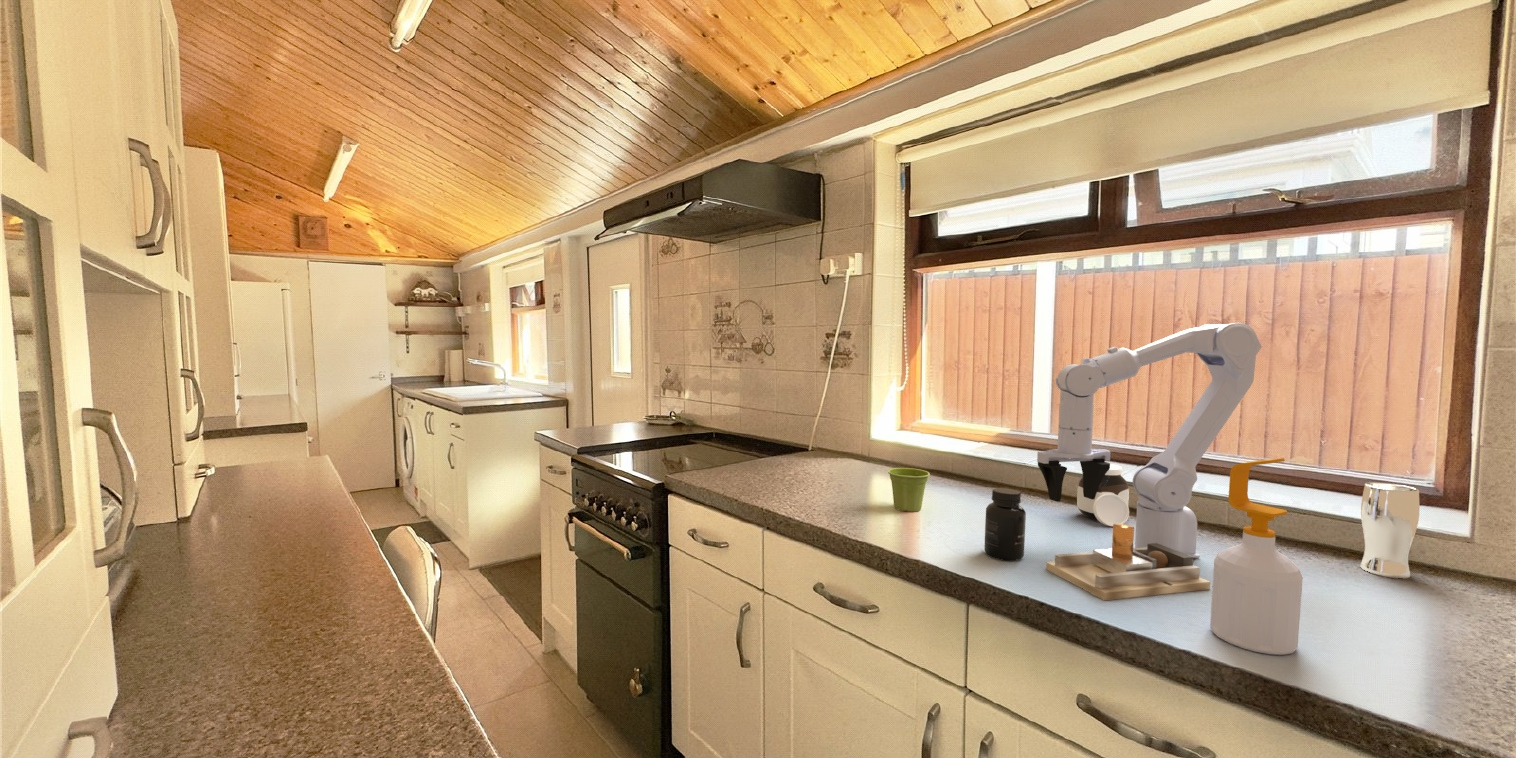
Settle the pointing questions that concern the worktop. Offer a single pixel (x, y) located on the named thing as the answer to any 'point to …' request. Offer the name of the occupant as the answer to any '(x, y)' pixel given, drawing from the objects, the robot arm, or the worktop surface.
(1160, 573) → the base
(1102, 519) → the spread jar
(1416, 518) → the beer glass
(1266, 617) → the soap bottle
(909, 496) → the plant pot
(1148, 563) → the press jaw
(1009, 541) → the supplement bottle
